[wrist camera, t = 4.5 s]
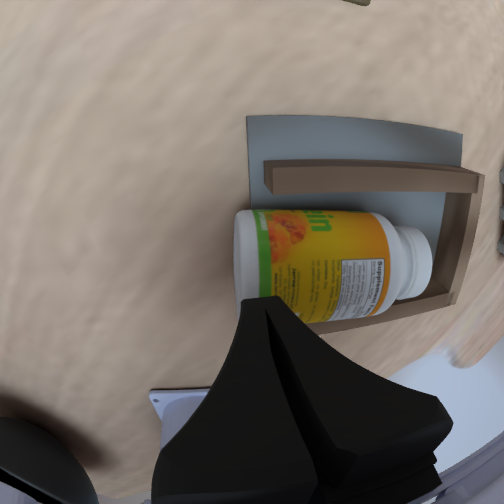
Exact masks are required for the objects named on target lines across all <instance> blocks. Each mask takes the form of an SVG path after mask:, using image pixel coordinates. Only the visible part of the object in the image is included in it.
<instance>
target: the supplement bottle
mask: <svg viewBox="0 0 504 504" xmlns="http://www.w3.org/2000/svg"><path fill="white" fill-rule="evenodd" d="M233 265H234V284H235V297H236V309H237V317H238V321H239V317H240V311H241V303H240V302H241V301H242V300H243V299H249V298H259V297H268V296H277V295H278V296H279V297H280V298H281V299H282V300H283V301H284V302H285V303H286V304H287V305H288V307H289V308H290V309H291V310H292V311H293V312H294V313H295V314H296V315H297V316H298V317H299V318H300V319H301V320H302V321H303V322H304V323H315V322H326V321H335V320H344V319H353V318H361V317H369V316H373V315H378V314H380V313H382V312H384V311H386V310H387V309H388V308H389V307H390V306H391V305H392V304H393V302H394V301H395V299H397V300H402V299H406V298H412V297H416V296H418V295H420V294H421V293H422V292H423V291H424V290H425V288H426V287H427V285H428V283H429V280H430V277H431V273H432V254H431V249H430V246H429V243H428V241H427V239H426V237H425V236H424V234H423V233H422V232H421V231H420V230H418V229H417V228H415V227H410V226H393V225H392V224H391V223H390V222H389V221H388V220H387V219H386V218H385V217H383V216H382V215H380V214H377V213H374V212H365V211H330V210H263V209H261V210H242V211H239V212H238V213H237V214H236V216H235V222H234V245H233Z"/></svg>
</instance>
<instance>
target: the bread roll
mask: <svg viewBox="0 0 504 504" xmlns="http://www.w3.org/2000/svg"><path fill="white" fill-rule="evenodd" d="M343 1H347V2H351V3H355V4H357V5H361V6H367V5H369V4H370V1H371V0H343Z"/></svg>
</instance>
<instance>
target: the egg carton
mask: <svg viewBox="0 0 504 504" xmlns="http://www.w3.org/2000/svg"><path fill="white" fill-rule="evenodd" d="M499 174H500V182H501V183H503V184H504V167H503V168H502V170H501V171H500V172H499ZM500 219H502V220H504V204H503V205H502V207H501V208H500ZM497 250H498V251H499V252H500V253H502V254H503V256H504V234H503V236H502V238H501V239H500V240H499V241H498V248H497Z"/></svg>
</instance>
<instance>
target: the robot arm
mask: <svg viewBox="0 0 504 504" xmlns="http://www.w3.org/2000/svg"><path fill="white" fill-rule="evenodd" d="M240 303H241V311H240V317H239V322H238V326H237V329H236V333H235V336H234V339H233V342H232V345H231V347H230V350H229V352H228V355H227V357H226V360H225V362H224V364H223V366H222V368H221V370H220V372H219V374H218V376H217V378H216V380H215V381H214V383H213V385H212V386H211V388H210V389H193V390H153V391H150V392H149V398H150V400H151V402H152V404H153V406H154V408H155V410H156V412H157V414H158V416H159V418H160V420H161V421H162V430H161V443H160V453H159V456H158V459H157V462H156V465H155V469H154V473H153V478H152V489H151V500H150V499H146V500H145V501H144V502H143V503H141V504H422V503H424V502H425V501H428V500H429V499H431V498H433V497H435V496H437V495H438V496H437V497H436V501H435V502H433V503H431V504H504V431H503V432H502V433H501V434H499V435H498V436H497V437H495V438H494V439H493V440H491V441H490V442H489V443H487V444H486V445H484V446H483V447H482V448H480V449H479V450H477V451H476V452H474V453H473V454H471V455H470V456H468V457H467V458H465V459H463V460H462V461H460V462H459V463H457V464H455V465H454V466H452V467H450V468H448V469H447V470H445V471H443V472H441V473H439V474H438V473H437V471H436V469H435V467H434V465H433V464H435V463H436V462H437V459H436V457H435V455H434V453H433V451H434V450H435V449H436V448H437V447H438V446H439V445H440V443H441V442H442V441H443V440H444V439H445V438H446V437H447V435H448V434H449V433H450V431H451V429H452V426H453V421H452V419H451V417H450V416H449V414H448V413H447V411H446V409H445V407H444V406H443V404H442V403H441V402H440V401H439V399H438V398H437V397H436V396H433V395H430V394H426V393H423V392H420V391H416V390H413V389H410V388H407V387H404V386H402V385H399V384H396V383H394V382H392V381H390V380H387V379H385V378H383V377H381V376H379V375H376V374H375V373H373V372H371V371H369V370H367V369H365V368H363V367H361V366H360V365H358V364H356V363H355V362H353V361H351V360H350V359H348V358H347V357H345V356H344V355H342V354H341V353H339V352H338V351H336V350H335V349H334V348H332V347H331V346H330V345H329V344H327V343H326V342H325V341H324V340H323V339H321V338H320V337H319V336H318V335H317V334H316V333H314V332H313V331H312V330H311V329H310V328H309V327H308V326H307V325H306V324H305V323H304V322H303V321H302V320H301V319H300V318H299V317H298V316H297V315H296V314H295V313H294V312H293V311H292V310H291V309H290V308H289V307H288V305H287V304H286V303H285V302H284V301H283V300H282V299H281V298H280V297H279V296H278V295H277V296H268V297H259V298H249V299H243V300H242V301H241V302H240ZM0 504H42V503H39V502H37V501H36V500H35V499H33V498H32V497H30V496H28V495H27V494H25V493H23V492H21V491H20V490H17V489H15V488H13V487H11V486H9V485H7V484H5V483H3V482H1V481H0Z"/></svg>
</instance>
